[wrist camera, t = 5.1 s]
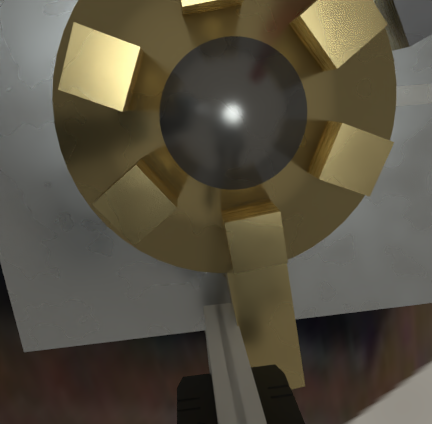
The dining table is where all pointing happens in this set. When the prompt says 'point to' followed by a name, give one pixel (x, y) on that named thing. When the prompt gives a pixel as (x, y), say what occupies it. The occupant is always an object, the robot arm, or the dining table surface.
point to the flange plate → (169, 274)
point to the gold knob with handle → (227, 136)
